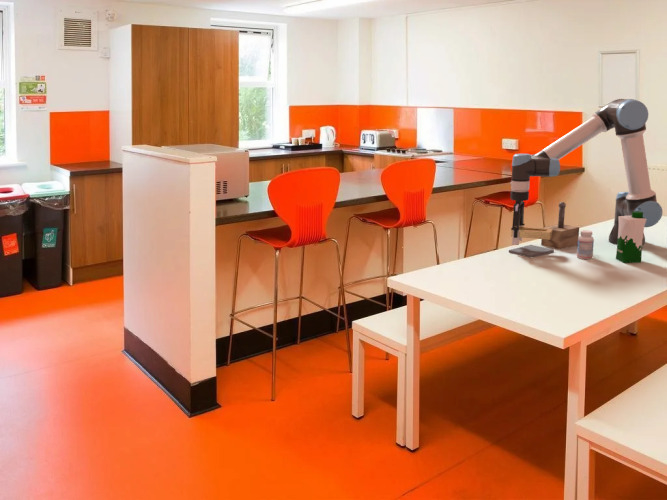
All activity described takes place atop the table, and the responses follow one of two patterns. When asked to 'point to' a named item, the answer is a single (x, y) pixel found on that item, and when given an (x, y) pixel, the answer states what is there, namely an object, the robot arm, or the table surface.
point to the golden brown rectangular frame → (534, 233)
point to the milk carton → (630, 237)
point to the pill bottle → (585, 245)
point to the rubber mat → (531, 251)
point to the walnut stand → (562, 233)
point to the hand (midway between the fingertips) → (517, 242)
